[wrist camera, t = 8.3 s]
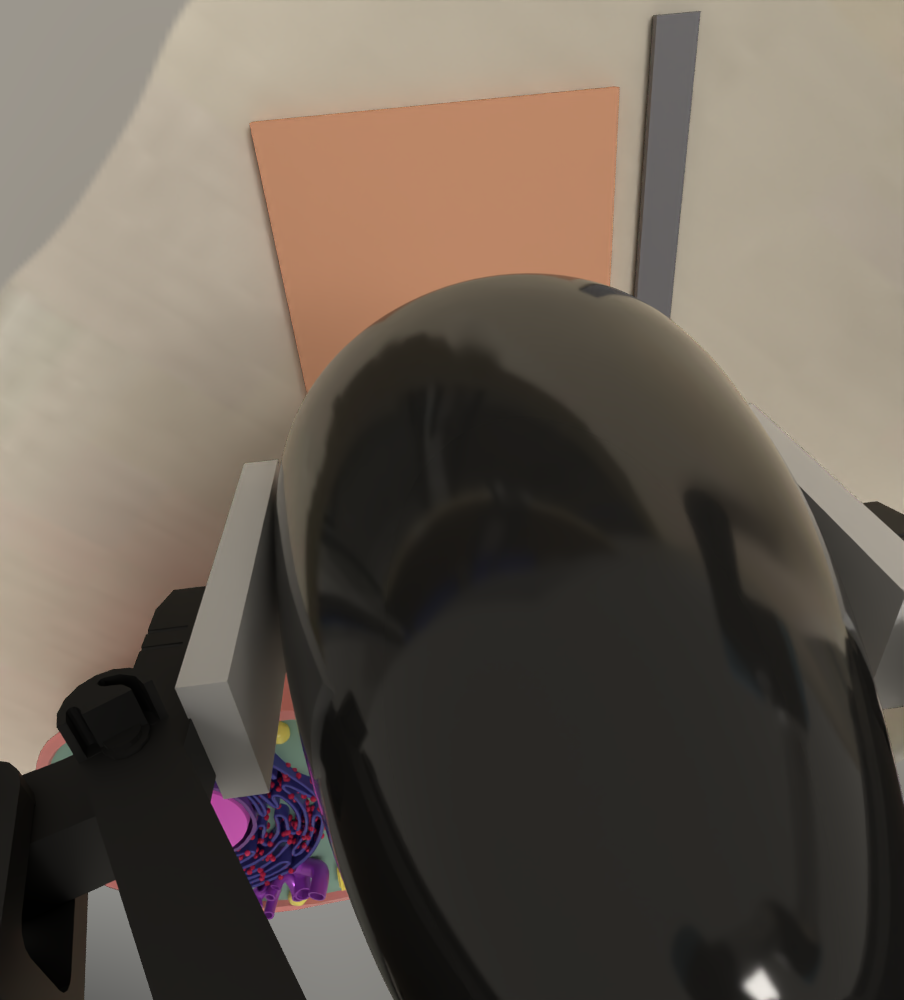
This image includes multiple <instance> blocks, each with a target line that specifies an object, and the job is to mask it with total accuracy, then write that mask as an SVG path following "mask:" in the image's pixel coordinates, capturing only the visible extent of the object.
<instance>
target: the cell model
mask: <svg viewBox="0 0 904 1000" xmlns="http://www.w3.org/2000/svg"><path fill="white" fill-rule="evenodd" d="M71 755H73V753H72V751H71V750H70V748H69V747H68V745H67V743H66V742H65V740H64V738H63V737H62V735H61V733H60V732H59V733H57V734H56V735H55V736H53V737H52V738H51V739H50V740H48V741H47V743H46V744H45V746H44V747H43V749H42V750H41V752H40V755H39V758H38V761H37V765H36V770H37V769H40V768H42V767H45V766H47V765H50V764H52V763H55V762H58V761H60V760H63V759H65V758H67V757H69V756H71ZM211 804H212V806H213V808H214V810H215V812H216V814H217V816H218V818H219V821H220V823H221V825H222V827H223V829H224V831H225V833H226V835H227V837H228V839H229V841H230V843H231V845H232V847H233V849H234V851H235V853H236V856H237V858H238V860H239V862H240V864H241V866H242V868H243V870H244V872H245V874H246V876H247V878H248V880H249V882H250V884H251V886H252V888H253V891H254V893H255V895H256V897H257V899H258V901H259V903H260V905H261V907H262V909H263V911H264V913H265V915H266V917H267V919H272V918H273V917H274V913H275V912H283V911H290V910H297V909H303V908H308V907H313V906H318V905H323V904H328V903H333V902H338V901H343V900H349V896H348V893H347V891H346V888H345V885H344V883H343V880H342V877H341V875H340V872H339V869H338V866H337V863H336V861H335V858H334V855H333V852H332V849H331V846H330V843H329V840H328V837H327V833H326V830H325V827H324V824H323V820H322V817H321V814H320V810H319V807H318V804H317V800H316V797H315V793H314V790H313V786H312V783H311V779H310V775H309V772H308V768H307V764H306V760H305V757H304V753H303V749H302V745H301V741H300V736H299V732H298V728H297V724H296V719H295V715H294V710H293V705H292V700H291V695H290V690H289V685H288V680H287V674H285V681H284V689H283V696H282V703H281V711H280V718H279V725H278V733H277V740H276V747H275V754H274V762H273V769H272V776H271V784H270V791H269V793H266V794H258V795H251V796H244V797H237V798H229V799H223V796H222V794H221V792H220V790H219V787H218V785H217V783H216V781H215V784H214V788H213V793H212V798H211ZM105 886H107V887H109V888H112V889H116V890H119V889H118V886H117V883H116V880H115V881H112V882H110V883H108V884H106V885H105Z"/></svg>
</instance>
